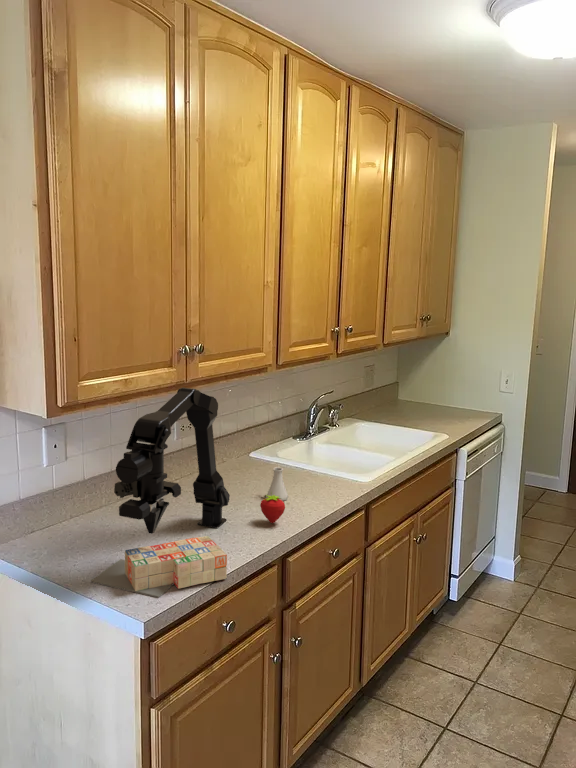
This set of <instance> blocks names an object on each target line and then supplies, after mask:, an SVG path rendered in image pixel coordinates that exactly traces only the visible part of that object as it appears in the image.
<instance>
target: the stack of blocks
mask: <svg viewBox="0 0 576 768" xmlns="http://www.w3.org/2000/svg"><path fill="white" fill-rule="evenodd" d="M124 560H125V574H126V576H127V577H128V579H129V581H130V583H131V584H132V586H133V588H134V590H135V591H139V590H144V589H148V588H154V587H159V586H164V585H168V584H172V583H174V585H175V586H176V588H177V589H178V590H179V589H183V588H188V587H191V586H196V585H200V584H205V583H210V582H214V581H221V580H226V579H227V574H228V573H227V572H228V570H227V569H228V567H227V565H228V564H227V563H228V554H227V553H226V551H224V550H223V549H222V548H221V546H219V545H218V544H217V543H216V542H215V541H213V539H212V538H211V537H210V536H208V535H205V536H199V537H192V538H191V537H190V538H186V539H179V540H175V541H170V542H165V543H160V544H155V545H145V546H141V547H136V548H130V549H129V548H128V549H125V550H124Z"/></svg>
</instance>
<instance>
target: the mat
mask: <svg viewBox="0 0 576 768" xmlns="http://www.w3.org/2000/svg"><path fill="white" fill-rule="evenodd" d="M90 582H91V583H94V584H97V585H98V584H99V585H102V586H107V587H111V588H115V589H119V590H123V591H127V592H133V593H136V594H140V595H143V596H144V595H145V596H149V597H153V598H158V599H159V598H160V597H161V596H162V595H164V594H165V593H166V592H167V591H168V590H169V589H170V588H171V587H173V586H174V585H175V584H174V583H172V584H168V585H164V586H159V587H154V588H148V589H144V590H139V591H135V590H134V588H133V586H132V584H131V583H130V581H129V579H128V577H127V576H126V574H125V559H121V558H120V559H119V560H118V561H116V562H114V563H113V564H112V565H111V566H109V567H108V568H106V569H105V570H103V571H102V572H101V573H100V574H97V575H96V576H95V577H94V578H93V579H91V580H90Z"/></svg>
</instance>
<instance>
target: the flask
mask: <svg viewBox="0 0 576 768" xmlns="http://www.w3.org/2000/svg"><path fill="white" fill-rule="evenodd" d="M272 471H273V476H272V481H271V484H270V486H269V489H268V491H267V493H266V495H267V496H271V492H272V496H273V495H275V496H280V497H278V498H281V499H280V500H282V501H283V502H285V501H287V500H288V498H289V494H288V491H287V489H286V485H285V483H284V479H283V478H284V477H283V471H284V467H283V468H282V467H277V466H275V467H273V468H272ZM267 496H265V498H269V497H267Z"/></svg>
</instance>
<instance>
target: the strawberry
mask: <svg viewBox="0 0 576 768" xmlns="http://www.w3.org/2000/svg"><path fill="white" fill-rule="evenodd" d="M264 496H265V498H263V499H262V500H261V502H260V505H259V506H260V510H261V513H262V514H263V515H264V517H265V518H266V519H267V521H268V522H269V523H270V524H275V523H276V522H277V521H278V520H279V519H280V518H281V516H282V515H283V514H284V512H285V509H286V505H285V501H282V500H280V499H281V498H278V497H280V496H275V495H273V496H272V492H271V496H267V494H266V495H264ZM266 496H267V497H269V498H266Z"/></svg>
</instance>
